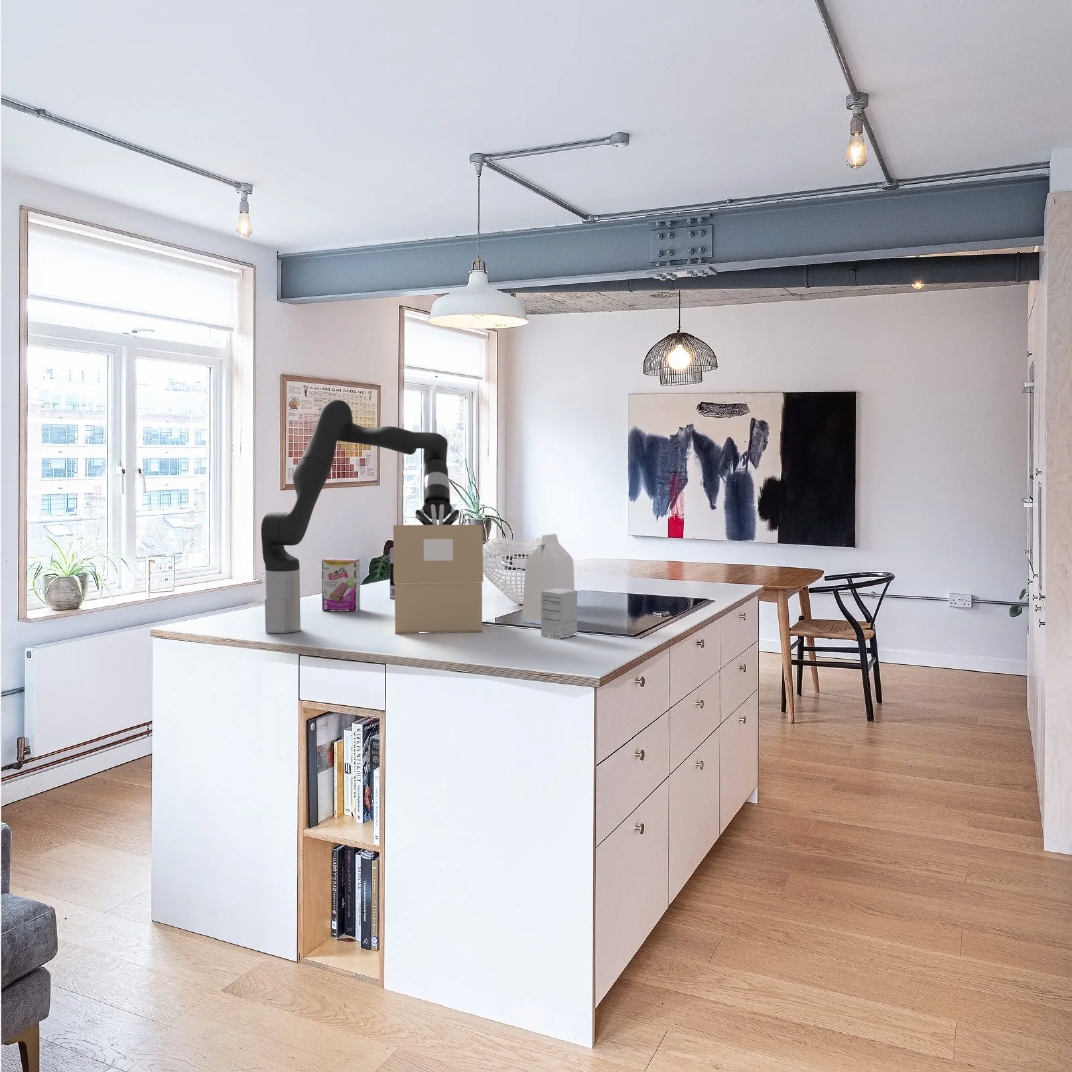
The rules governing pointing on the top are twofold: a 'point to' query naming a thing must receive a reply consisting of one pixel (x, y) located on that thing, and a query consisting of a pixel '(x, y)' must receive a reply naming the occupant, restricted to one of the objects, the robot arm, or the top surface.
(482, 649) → the top surface
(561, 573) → the milk
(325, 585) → the candy bar box
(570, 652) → the top surface
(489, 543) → the white mesh basket
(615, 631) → the top surface
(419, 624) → the carton
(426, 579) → the carton lid
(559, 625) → the supplement box
